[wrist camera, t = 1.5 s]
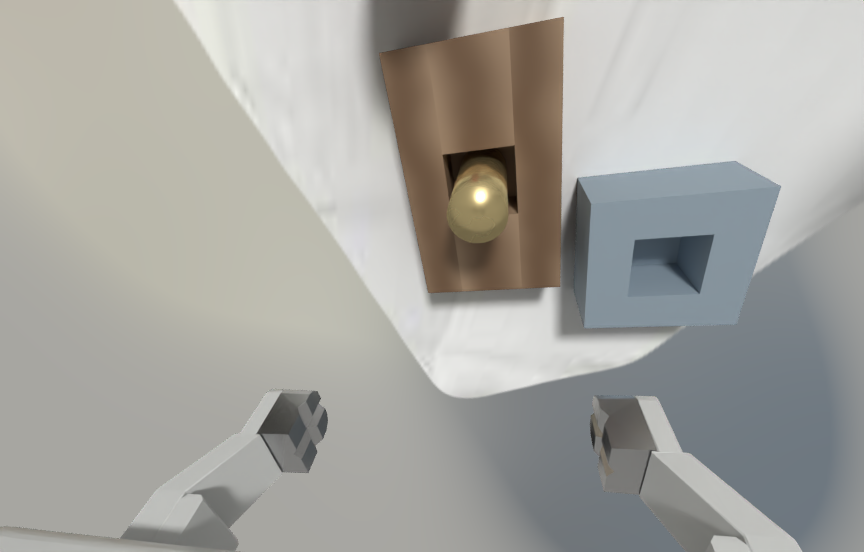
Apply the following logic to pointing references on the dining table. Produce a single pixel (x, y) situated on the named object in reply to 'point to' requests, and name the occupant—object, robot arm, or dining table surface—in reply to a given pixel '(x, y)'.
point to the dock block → (669, 244)
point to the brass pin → (479, 197)
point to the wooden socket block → (483, 129)
